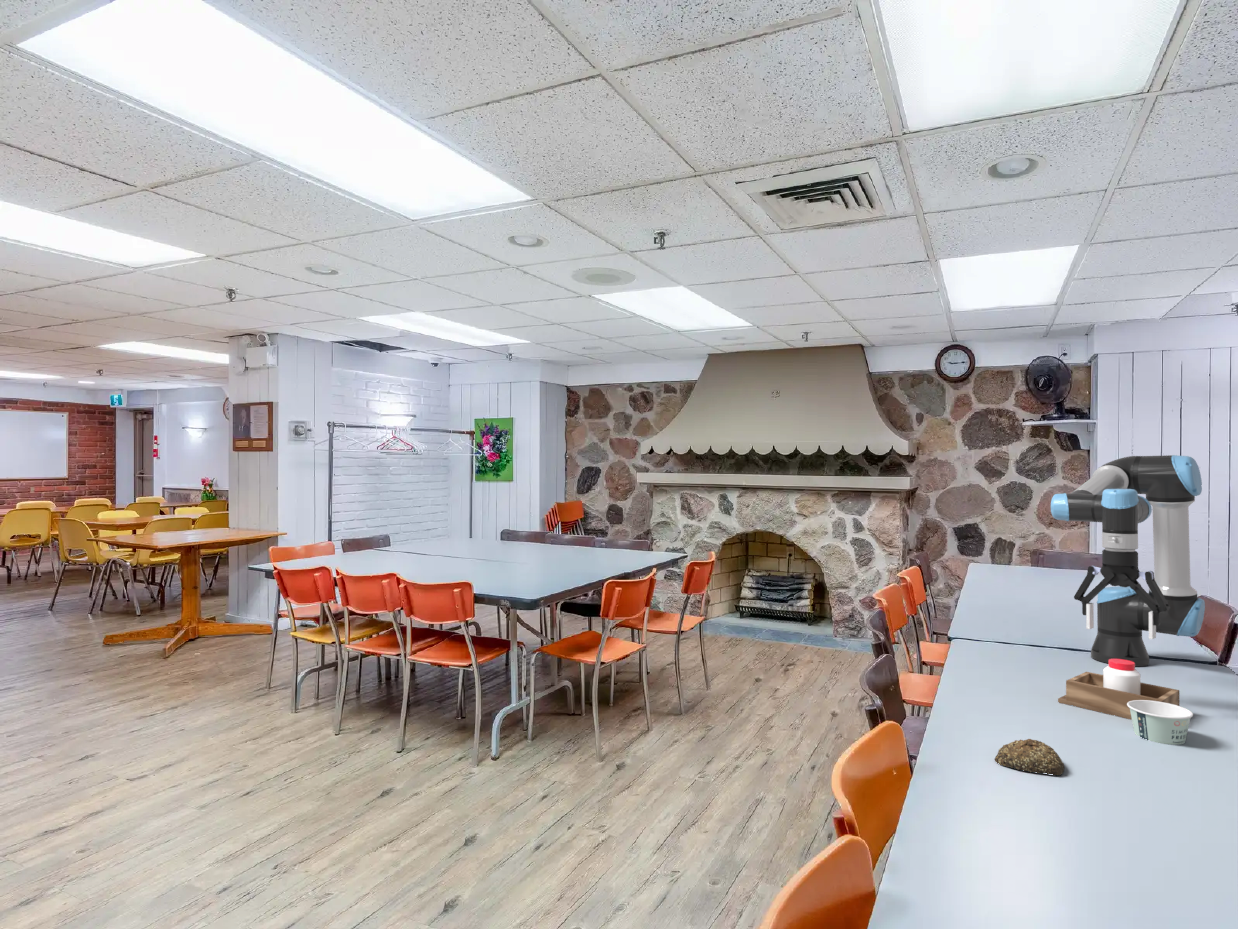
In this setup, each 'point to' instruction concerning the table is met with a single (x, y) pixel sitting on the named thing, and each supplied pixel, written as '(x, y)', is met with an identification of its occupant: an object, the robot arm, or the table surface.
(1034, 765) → the bread roll
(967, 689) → the table surface
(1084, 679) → the tray
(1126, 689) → the pill bottle
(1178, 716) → the food container
